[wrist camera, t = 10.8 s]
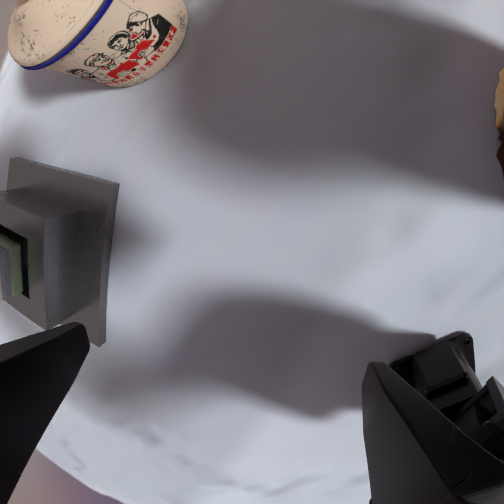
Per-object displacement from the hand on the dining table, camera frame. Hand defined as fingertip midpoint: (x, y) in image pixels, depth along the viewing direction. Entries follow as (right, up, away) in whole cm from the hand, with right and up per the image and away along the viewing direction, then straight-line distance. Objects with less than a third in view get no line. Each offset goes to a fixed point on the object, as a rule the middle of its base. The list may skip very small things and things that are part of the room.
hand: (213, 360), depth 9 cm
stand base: (-17, +4, +16) cm, 23 cm away
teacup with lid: (-6, +20, +9) cm, 22 cm away
